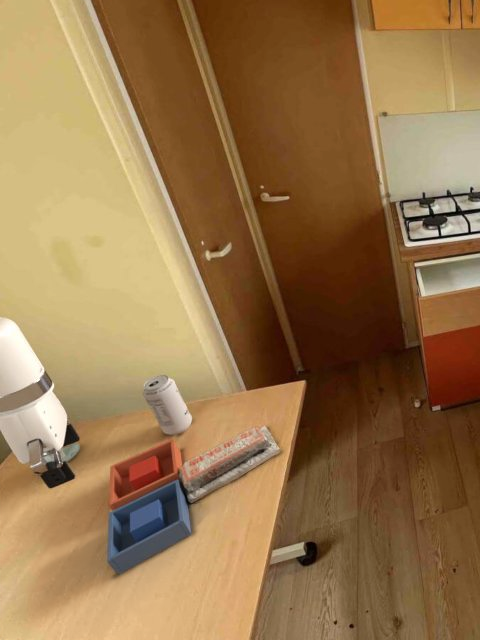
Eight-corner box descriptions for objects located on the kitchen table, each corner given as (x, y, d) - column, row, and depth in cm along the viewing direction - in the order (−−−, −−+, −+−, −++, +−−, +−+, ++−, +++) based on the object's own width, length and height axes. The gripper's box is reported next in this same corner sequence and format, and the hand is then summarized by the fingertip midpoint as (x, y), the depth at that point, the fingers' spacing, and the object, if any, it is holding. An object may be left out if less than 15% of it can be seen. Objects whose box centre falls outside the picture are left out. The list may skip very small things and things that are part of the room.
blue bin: (118, 574, 77) (107, 561, 75) (118, 526, 84) (108, 512, 82) (191, 534, 83) (183, 520, 81) (185, 492, 91) (178, 478, 89)
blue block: (139, 545, 81) (129, 532, 79) (139, 526, 84) (129, 513, 82) (168, 530, 83) (159, 516, 81) (166, 512, 86) (158, 499, 84)
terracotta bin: (118, 519, 86) (108, 505, 84) (119, 479, 93) (110, 466, 91) (185, 486, 92) (177, 472, 90) (180, 451, 100) (173, 438, 98)
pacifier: (38, 463, 97) (40, 478, 93) (24, 444, 94) (25, 459, 91) (81, 442, 102) (84, 456, 98) (68, 424, 99) (71, 437, 96)
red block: (138, 495, 90) (129, 481, 88) (137, 479, 93) (129, 466, 91) (164, 482, 92) (156, 469, 90) (162, 468, 95) (155, 454, 93)
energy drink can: (198, 422, 107) (177, 378, 100) (172, 440, 102) (148, 395, 95) (185, 413, 110) (163, 370, 103) (159, 431, 105) (134, 386, 98)
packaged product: (182, 491, 86) (172, 460, 92) (190, 506, 88) (180, 474, 94) (276, 439, 97) (262, 414, 103) (281, 453, 99) (267, 428, 105)
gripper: (-6, 370, 71) (42, 441, 78) (-33, 438, 59) (27, 513, 67) (56, 352, 75) (96, 421, 83) (42, 412, 63) (91, 486, 71)
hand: (65, 462), depth 75 cm, fingers open, 9 cm apart
